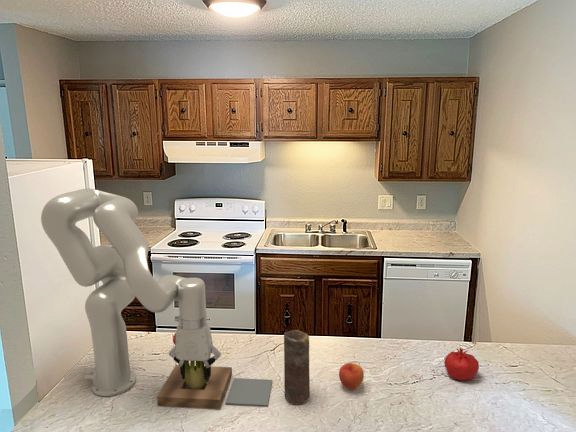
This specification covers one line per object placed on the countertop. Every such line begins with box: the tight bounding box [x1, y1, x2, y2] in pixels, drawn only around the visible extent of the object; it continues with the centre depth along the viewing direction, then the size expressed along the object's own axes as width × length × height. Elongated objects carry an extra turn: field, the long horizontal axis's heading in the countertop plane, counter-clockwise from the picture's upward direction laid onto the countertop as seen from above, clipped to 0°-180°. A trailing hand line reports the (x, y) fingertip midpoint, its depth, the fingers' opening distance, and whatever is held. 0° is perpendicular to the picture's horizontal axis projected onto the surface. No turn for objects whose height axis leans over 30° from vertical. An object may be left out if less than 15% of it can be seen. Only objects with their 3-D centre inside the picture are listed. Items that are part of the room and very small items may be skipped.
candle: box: [283, 329, 311, 405], centre depth 121 cm, size 8×7×20 cm
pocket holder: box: [156, 364, 233, 410], centre depth 126 cm, size 18×16×3 cm
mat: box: [225, 377, 273, 408], centre depth 125 cm, size 12×12×1 cm
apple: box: [338, 362, 365, 391], centre depth 127 cm, size 7×7×8 cm
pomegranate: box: [443, 347, 480, 381], centre depth 133 cm, size 10×10×9 cm
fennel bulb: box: [184, 360, 208, 390], centre depth 125 cm, size 6×5×12 cm
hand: (196, 376), depth 125 cm, fingers closed on fennel bulb, 6 cm apart
